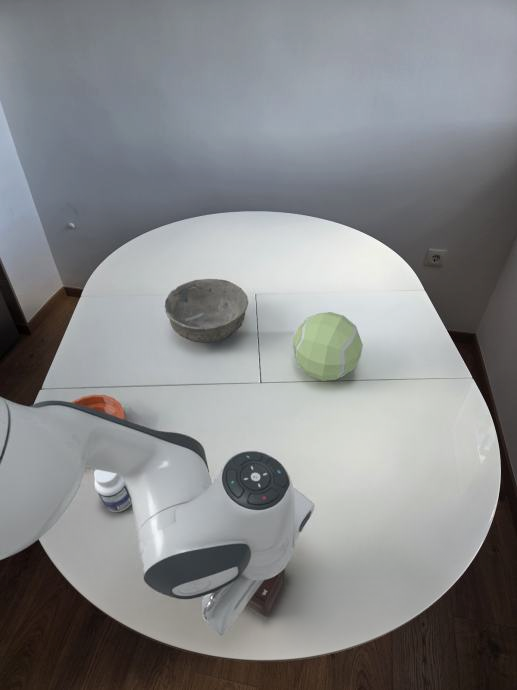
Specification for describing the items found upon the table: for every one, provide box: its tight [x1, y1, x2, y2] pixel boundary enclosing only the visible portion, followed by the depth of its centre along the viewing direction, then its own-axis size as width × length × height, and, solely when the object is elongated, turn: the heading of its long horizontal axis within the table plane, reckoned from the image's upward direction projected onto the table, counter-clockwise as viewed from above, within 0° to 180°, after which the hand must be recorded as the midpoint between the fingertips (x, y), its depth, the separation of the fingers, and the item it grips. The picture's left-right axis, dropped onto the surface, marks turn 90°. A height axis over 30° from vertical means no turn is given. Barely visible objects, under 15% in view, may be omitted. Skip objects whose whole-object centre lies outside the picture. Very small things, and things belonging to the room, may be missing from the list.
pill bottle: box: [93, 469, 132, 513], centre depth 76 cm, size 5×5×10 cm
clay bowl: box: [70, 394, 129, 421], centre depth 88 cm, size 14×14×5 cm
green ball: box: [292, 311, 364, 382], centre depth 98 cm, size 15×15×15 cm
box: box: [246, 567, 286, 618], centre depth 66 cm, size 6×6×7 cm
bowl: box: [164, 278, 249, 344], centre depth 110 cm, size 21×21×10 cm
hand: (260, 576), depth 65 cm, fingers open, 8 cm apart
